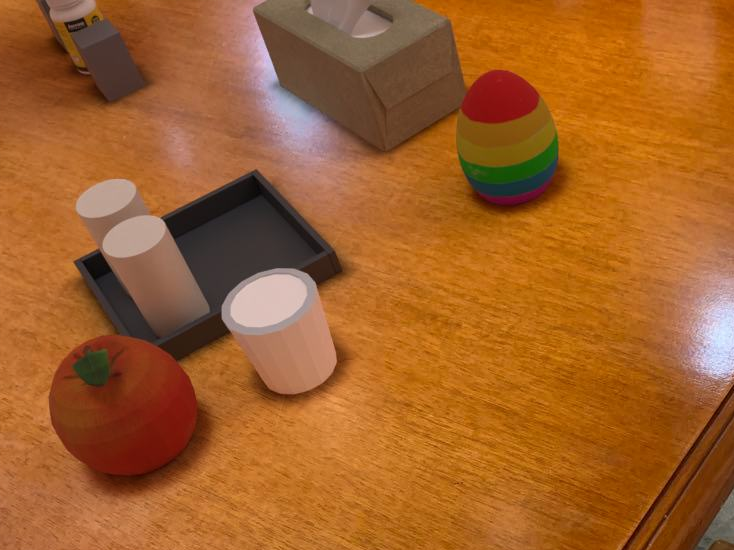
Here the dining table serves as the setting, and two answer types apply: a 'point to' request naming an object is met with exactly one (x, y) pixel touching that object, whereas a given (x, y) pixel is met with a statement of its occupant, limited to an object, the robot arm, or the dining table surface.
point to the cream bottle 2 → (155, 273)
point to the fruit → (122, 405)
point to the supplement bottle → (73, 23)
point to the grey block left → (46, 12)
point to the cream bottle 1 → (109, 210)
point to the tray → (219, 257)
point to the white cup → (282, 329)
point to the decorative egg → (506, 139)
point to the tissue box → (366, 63)
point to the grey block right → (107, 59)
